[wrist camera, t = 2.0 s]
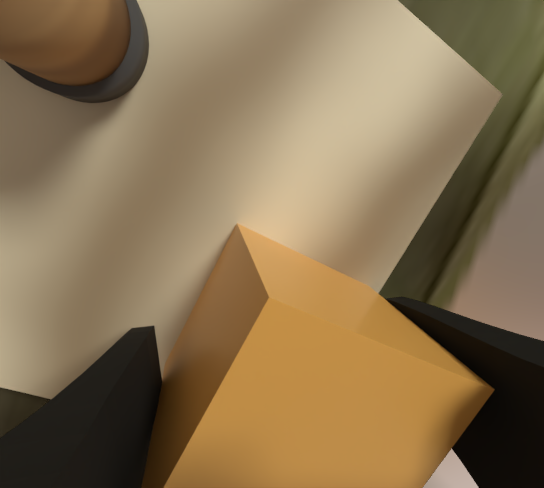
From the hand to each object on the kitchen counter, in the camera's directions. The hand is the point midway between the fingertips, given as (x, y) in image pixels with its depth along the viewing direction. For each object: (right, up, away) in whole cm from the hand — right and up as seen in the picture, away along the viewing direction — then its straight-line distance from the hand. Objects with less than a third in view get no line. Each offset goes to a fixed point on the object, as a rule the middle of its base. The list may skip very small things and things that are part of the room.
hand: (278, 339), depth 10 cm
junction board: (-3, +5, 0) cm, 6 cm away
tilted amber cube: (0, 0, +1) cm, 1 cm away
